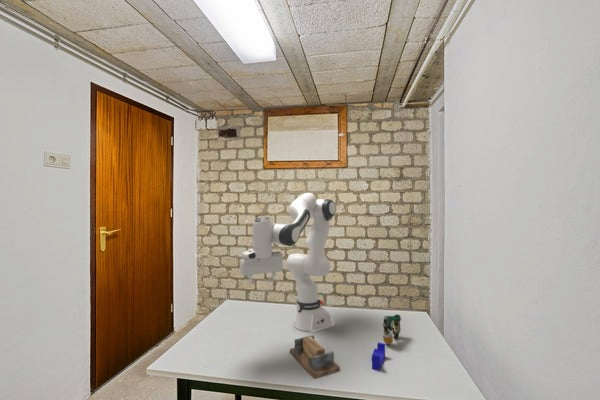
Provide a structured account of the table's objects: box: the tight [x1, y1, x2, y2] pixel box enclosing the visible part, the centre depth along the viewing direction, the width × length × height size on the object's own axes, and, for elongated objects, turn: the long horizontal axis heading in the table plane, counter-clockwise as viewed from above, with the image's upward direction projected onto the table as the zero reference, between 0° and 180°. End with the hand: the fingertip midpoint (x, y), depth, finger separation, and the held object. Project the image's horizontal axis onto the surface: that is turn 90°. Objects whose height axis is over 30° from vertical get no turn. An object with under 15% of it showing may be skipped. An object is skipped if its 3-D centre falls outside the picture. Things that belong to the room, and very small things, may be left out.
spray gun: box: [382, 314, 402, 345], centre depth 145 cm, size 4×17×15 cm, turn 137°
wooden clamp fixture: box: [289, 334, 341, 379], centre depth 128 cm, size 12×22×6 cm, turn 27°
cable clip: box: [371, 342, 386, 371], centre depth 127 cm, size 12×4×6 cm, turn 154°
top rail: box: [302, 336, 326, 358], centre depth 128 cm, size 4×12×6 cm, turn 27°
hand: (261, 282), depth 138 cm, fingers open, 8 cm apart
